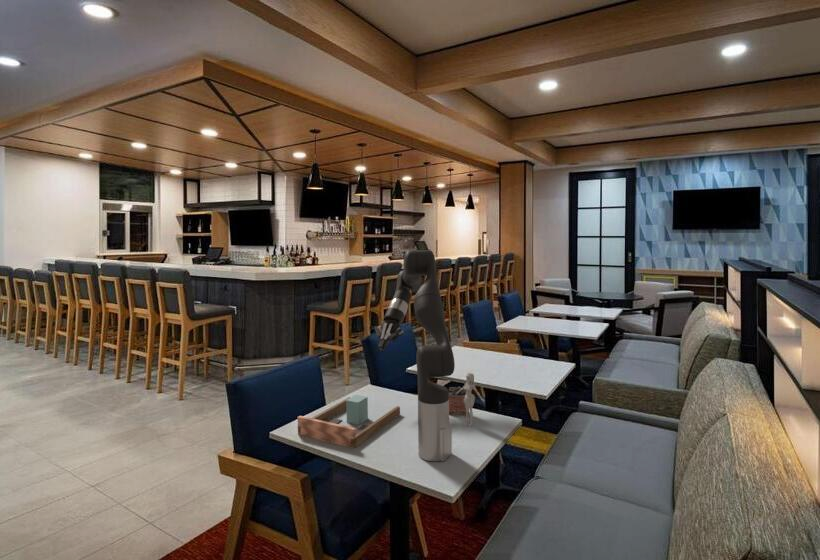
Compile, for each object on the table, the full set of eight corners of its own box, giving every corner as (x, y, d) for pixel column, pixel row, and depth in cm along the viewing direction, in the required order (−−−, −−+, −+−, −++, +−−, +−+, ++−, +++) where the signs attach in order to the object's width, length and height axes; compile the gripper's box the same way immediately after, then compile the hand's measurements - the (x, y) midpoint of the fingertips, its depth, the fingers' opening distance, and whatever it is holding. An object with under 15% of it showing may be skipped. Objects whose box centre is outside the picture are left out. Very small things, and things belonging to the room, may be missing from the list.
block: (368, 418, 166) (367, 396, 165) (358, 424, 161) (358, 402, 160) (356, 416, 169) (355, 394, 168) (346, 422, 163) (346, 400, 163)
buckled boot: (469, 412, 171) (469, 386, 170) (469, 416, 167) (469, 389, 166) (447, 411, 171) (447, 385, 170) (447, 415, 168) (446, 388, 167)
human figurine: (452, 421, 163) (452, 371, 161) (458, 418, 165) (458, 369, 164) (480, 431, 155) (481, 378, 153) (487, 427, 157) (487, 376, 155)
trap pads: (374, 428, 158) (374, 426, 158) (361, 437, 151) (361, 436, 151) (331, 418, 166) (331, 417, 166) (317, 427, 159) (317, 426, 159)
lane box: (400, 414, 169) (399, 398, 169) (353, 448, 143) (353, 429, 143) (349, 404, 180) (349, 389, 179) (298, 434, 154) (297, 416, 153)
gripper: (378, 305, 187) (362, 342, 178) (407, 307, 181) (392, 345, 172) (385, 316, 193) (370, 352, 183) (413, 319, 186) (399, 356, 177)
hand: (380, 349), depth 177 cm, fingers closed
